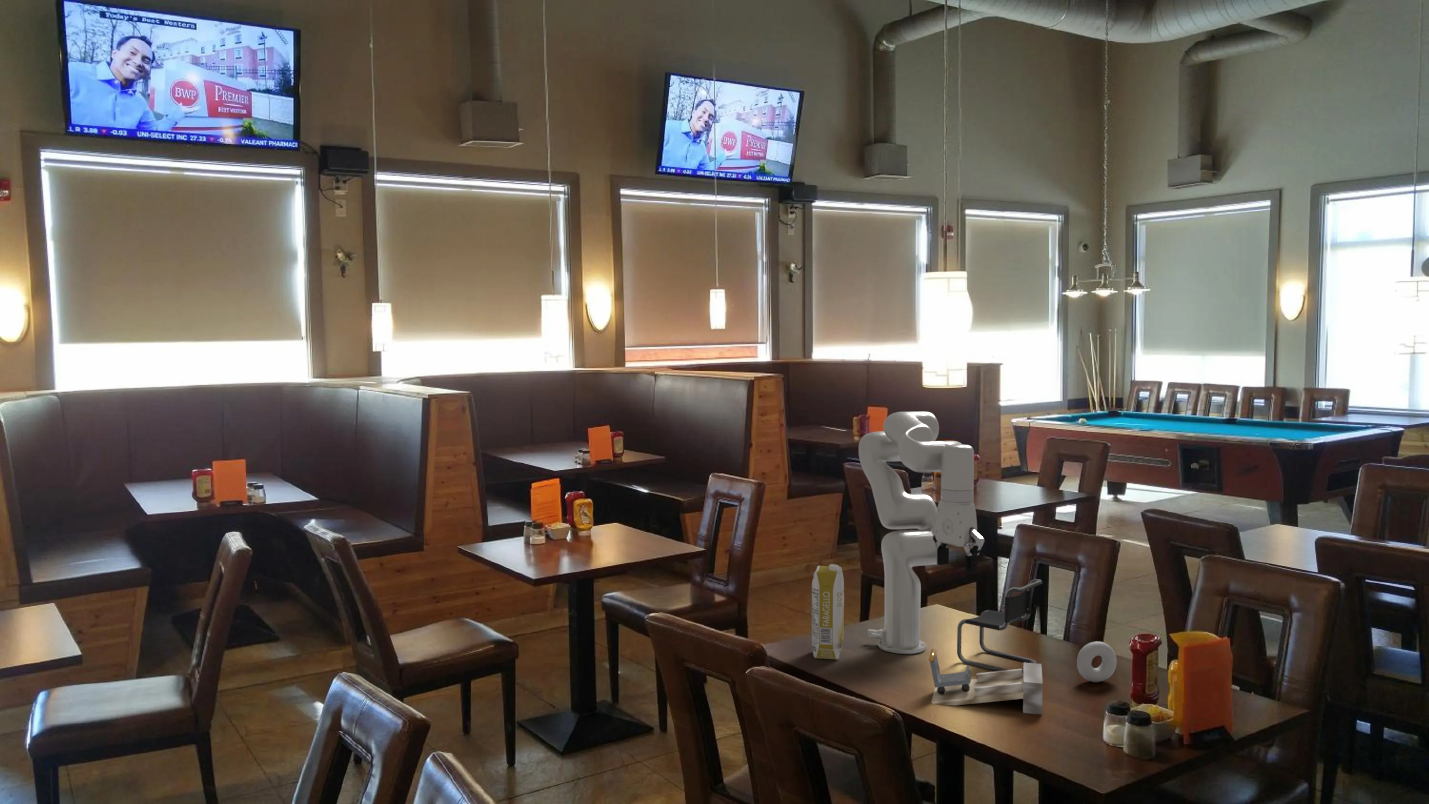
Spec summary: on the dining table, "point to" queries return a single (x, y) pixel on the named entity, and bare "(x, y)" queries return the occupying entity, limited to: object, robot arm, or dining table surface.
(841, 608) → the juice carton
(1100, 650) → the donut
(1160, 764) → the dining table surface
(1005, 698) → the dock
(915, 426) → the robot arm
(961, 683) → the trolley
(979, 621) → the chair
